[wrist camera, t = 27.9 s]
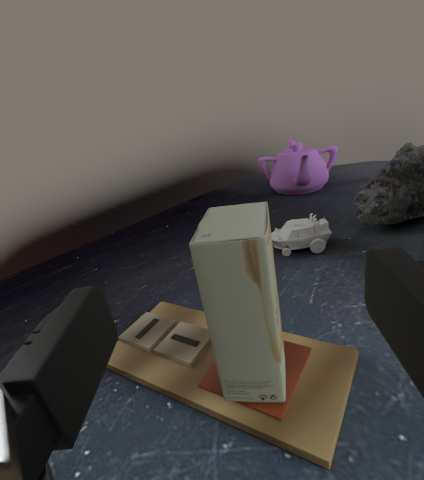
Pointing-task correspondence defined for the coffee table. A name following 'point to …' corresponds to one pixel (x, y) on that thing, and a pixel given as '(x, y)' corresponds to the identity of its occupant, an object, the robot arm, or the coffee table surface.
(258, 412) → the word board
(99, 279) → the coffee table surface
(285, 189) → the teapot
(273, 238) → the toy car
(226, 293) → the cosmetic box
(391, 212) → the mineral rock
